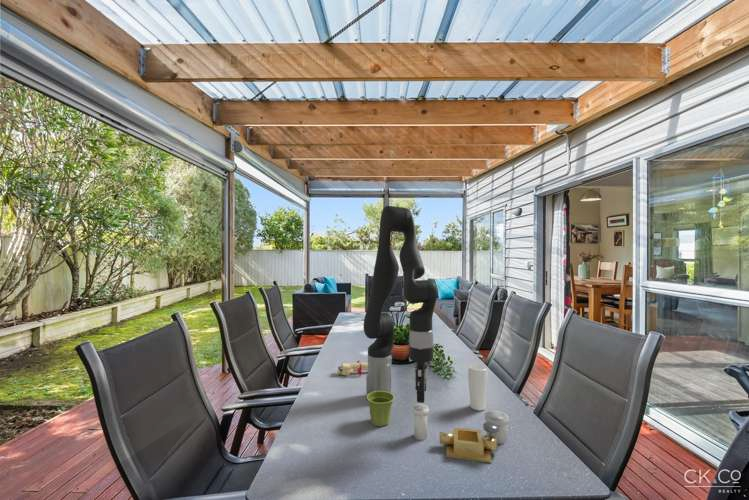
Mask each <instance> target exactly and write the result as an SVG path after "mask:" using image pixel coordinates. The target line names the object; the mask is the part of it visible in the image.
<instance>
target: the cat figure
mask: <svg viewBox="0 0 749 500" xmlns="http://www.w3.org/2000/svg"><path fill="white" fill-rule="evenodd" d="M337 369H338V370H337V371H336V373H337V374H338V375H339V376H340V375H343V376H349V377H350V375H351V373H353V372H356V371H357V374H358V375H359V376H360V377H361V376H362V371H368V362H360V360H357V362H353V363H349V362H346V363H345V362H344V363H341V365H339V366H338V367H337Z"/></svg>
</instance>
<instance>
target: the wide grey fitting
mask: <svg viewBox="0 0 749 500" xmlns="http://www.w3.org/2000/svg"><path fill="white" fill-rule="evenodd" d="M509 419H510V417H509V416H508V414H506V413H505V412H502V411H500V410H488V411H487V410H486V411H485V412H484V421H486V422H492V423H495V424H497V425H498V426H499V432H497V433H493V438H496V439H497V445H504V444H506V443H507V442H508V424H509V422H510V421H509ZM486 422H485V423H486ZM485 433H486V434H485V437H488V438H489V432H487V431H485Z"/></svg>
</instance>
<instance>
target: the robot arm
mask: <svg viewBox="0 0 749 500" xmlns="http://www.w3.org/2000/svg"><path fill="white" fill-rule="evenodd" d="M378 231H379V232H378V233H379V234H378V243H377V251H376V258H375V263H374V266H373V267H374V268H373V275H372V283H371V288H370V294H369V300H368V304H367V307H366V311H365V315H364V319H363V332H364V335H365V336H366V337H367V338H368V339H371V340H373V339H375V341H374V342H372V343H371V344H370V345H369V346H368V348H367V363H368V370H367V374H366V375H365V376H366V377H365V378H366V381H365V382H366V385H365V387H366V390H365V392H366V393H365V394H366V396H365V398H366V401H368V400H367V395H368V394H369V393H371V392H374V391H386V392H389V393H391V394H392V351H393V348H394V339H395V338H394V335H395V323H394V319H393V317H392V315H391V314H390V313H388V312H383V308H384V305H385V304H386V302H387V300H388V299H389V298H390V296H391V294H392V293H393V291H394V290H395V287H396V286H397V282H398V277H399V270H400V267H399V262H400V266H401V269H402V273H403V296H404V298H405V300H406V301H407V303H410V304H421V307H420V308H418V309H414V310H412V311H410V312H409V333H408V334H409V335H408V353H409V354H408V359H409V360H410V361H412V362H414V363H415V365H414V382H415V391H416V402H417V403H418V404H423V403H425V392H426V391H427V377H428V373H429V372H428V371H429V364H427V363H431V362H432V361H433V360H434V333H433V316H434V312H435V311H434V310H435V306H436V303H437V299H438V294H439V291H438V290H439V289H438V286H437V284H436V283H435V281H434V280H431V279H423V280H422V279H420V278H421V277H423V276H424V275H425V273H426V269H425V266H424V263H423V259H422V256H421V254H420V250H419V247H418V240H417V234H416V227H415V220H414V216H413V214H412V211H411V210H410V209H409V208H407V207H403V206H394V205H386V206H384V207H383V208H382V211H381V213H380V220H379V230H378ZM392 232H396V233H402V235H403V236H404V241H403V243H402V246H401V249H400V251H399V262H398V260H397V257H396V255H395V253H394V250H393V247H392V243H391V241H392V239H391V235H392V234H391V233H392Z"/></svg>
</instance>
